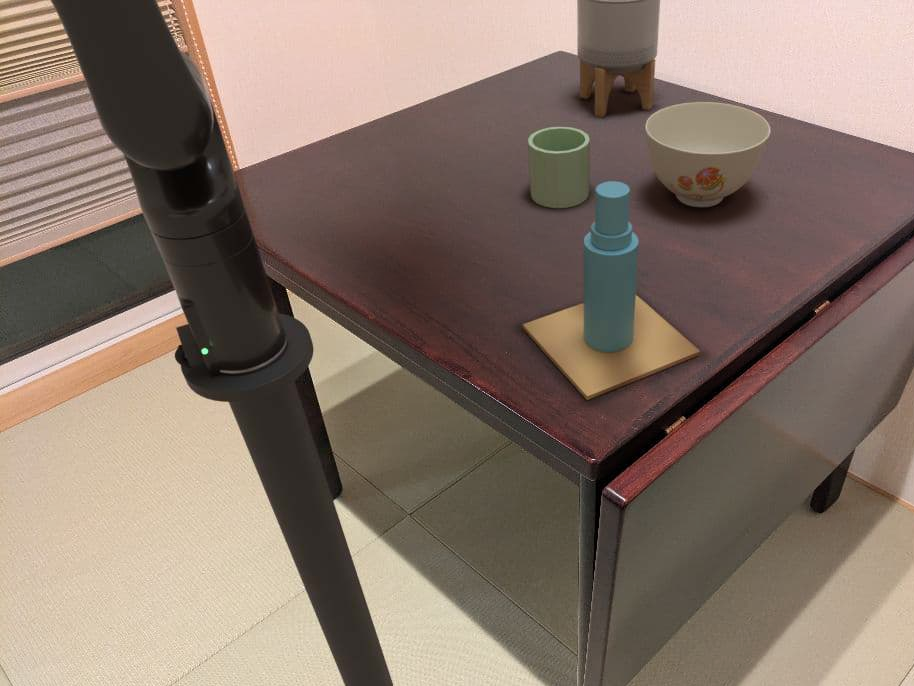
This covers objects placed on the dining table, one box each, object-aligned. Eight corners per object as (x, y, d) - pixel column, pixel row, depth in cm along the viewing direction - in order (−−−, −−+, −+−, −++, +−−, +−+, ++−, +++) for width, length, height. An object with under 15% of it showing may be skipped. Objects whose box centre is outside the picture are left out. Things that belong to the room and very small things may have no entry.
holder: (548, 214, 107) (546, 158, 102) (520, 189, 113) (517, 135, 107) (600, 198, 110) (600, 143, 105) (570, 175, 115) (569, 121, 110)
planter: (564, 110, 133) (562, -5, 121) (598, 83, 141) (600, -27, 129) (634, 123, 128) (640, 5, 116) (666, 95, 136) (674, -19, 124)
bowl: (621, 208, 108) (624, 137, 101) (671, 161, 118) (676, 93, 111) (732, 237, 101) (743, 163, 94) (775, 185, 111) (788, 115, 104)
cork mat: (587, 400, 79) (587, 396, 79) (522, 328, 89) (522, 324, 88) (699, 355, 84) (700, 350, 84) (627, 291, 93) (627, 286, 93)
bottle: (600, 358, 83) (603, 208, 72) (574, 331, 87) (573, 184, 75) (643, 341, 85) (653, 193, 73) (616, 316, 89) (621, 170, 77)
